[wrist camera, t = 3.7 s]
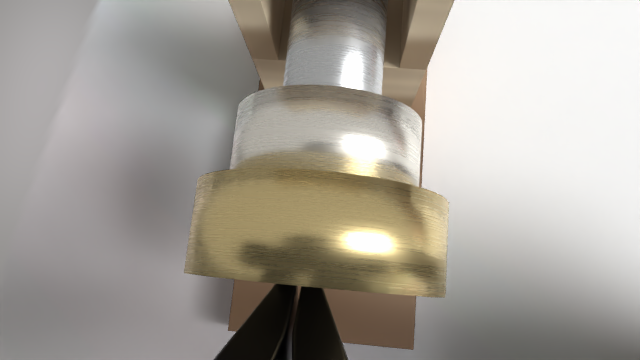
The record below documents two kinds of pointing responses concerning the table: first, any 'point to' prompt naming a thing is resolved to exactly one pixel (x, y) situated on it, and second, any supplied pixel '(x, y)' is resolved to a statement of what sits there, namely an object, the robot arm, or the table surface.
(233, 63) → the table surface
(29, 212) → the table surface
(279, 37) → the bearing stand
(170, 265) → the table surface
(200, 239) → the shaft
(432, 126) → the table surface
